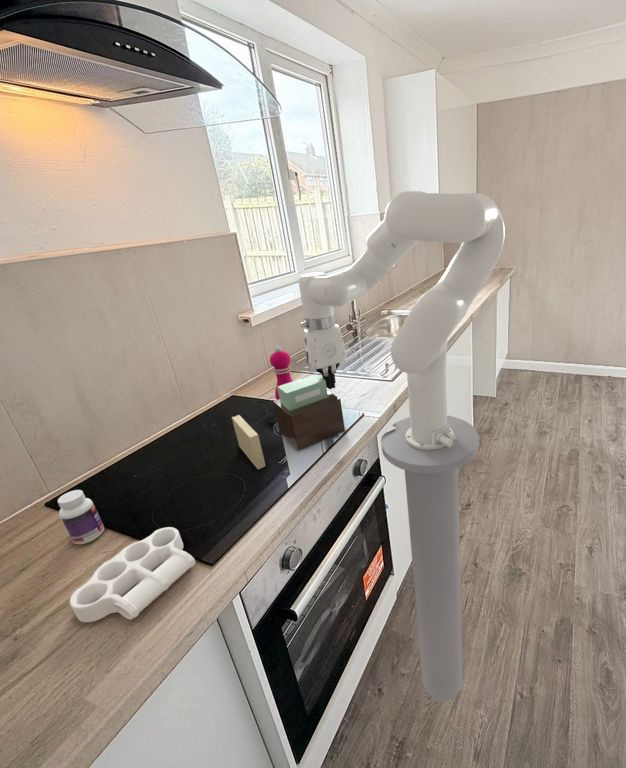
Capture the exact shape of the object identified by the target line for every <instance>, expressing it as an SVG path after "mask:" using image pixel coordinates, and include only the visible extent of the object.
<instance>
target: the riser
mask: <svg viewBox="0 0 626 768" xmlns="http://www.w3.org/2000/svg"><path fill="white" fill-rule="evenodd" d="M327 394H328V398H325V399H322V400H319V401H316V402H314V403H311V404H308V405H305V406H302V407H300V408H297V409H294V410H291V411H289V410H288V409H287V408H286V407H284V406H283V405H282V404H281V402H280V399H279V400H277V399H276V400H273V401H272V403H273V408H274V413H275V416H276V420H277V426H278V430H279V434H280V435H281V436H282V437H283V438H284V439H286V440H287V442H289V443H290V445H292V446H293V447H294V448H295V449H296V451H301V450H303V449H306V448H308V447H310V446H313V445H315V444H317V443H320V442H322V441H325V440H327V439H329V438H332V437H334V436H336V435H339V434H341V433H344V432H345V431H346V428H345V427H346V426H345V420H344V414H343V406H342V400H341V398H340V397H339V396H338V395H335V394H334V393H332V392H330V391H329V390H327Z"/></svg>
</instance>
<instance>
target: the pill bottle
mask: <svg viewBox="0 0 626 768" xmlns="http://www.w3.org/2000/svg"><path fill="white" fill-rule="evenodd" d="M57 504H58V506H59V508H60V509H59V511H58V516H59V518H60V520H61V522H62V524H63V526H64V528H65V530H66V531H67V534H68V536H69V538H70V540H71V542H72V544H75V545H85V544H88V543H90V542H93V541H94V540H97V538H99V537H100V536H101V535H102V534H103V533H104V531H105V526H104V523H103V521H102V519H101V516H100V515H99V512H98V510H97V508H96V506H95V504H94V502H93V500H92V499H90V497H89V498H88V497H86V495H85V494H84V491H83V490H81V489H74V490H70V491H68V492H66V493H64V494H62V495H61V496H59V497H58V499H57Z"/></svg>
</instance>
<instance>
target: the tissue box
mask: <svg viewBox="0 0 626 768" xmlns="http://www.w3.org/2000/svg"><path fill="white" fill-rule="evenodd" d="M276 386H277V385H276ZM277 388H278V393H279V398H280V402H281V404H282V405H283V406H284V407H286V408H287V409H288V410H289V411H291V410H294V409H297V408H300V407H302V406H305V405H308V404H311V403H314V402H316V401H319V400H322V399H325V398H328V394H327V391H328V388H327V387H326V381H325V380H324V379H323V378H322V377H320V376H319V375H317V374H312V375H308V376H306V377H303V378H300V379H296V380H293V382H290V383H287V384H284V385H280V386H277Z"/></svg>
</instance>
